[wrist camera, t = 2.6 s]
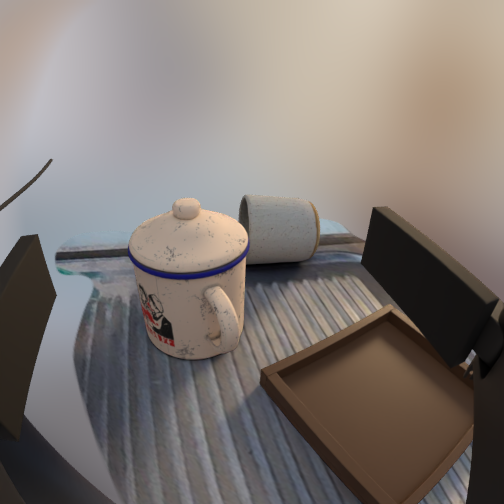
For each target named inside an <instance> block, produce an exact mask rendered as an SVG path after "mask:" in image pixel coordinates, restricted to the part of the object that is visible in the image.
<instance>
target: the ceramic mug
mask: <svg viewBox="0 0 504 504" xmlns="http://www.w3.org/2000/svg"><path fill="white" fill-rule="evenodd" d="M239 223H240V224H241V225H242V226H243V227H244V229H245V230H246V232H247V235H248V238H249V242H250V247H249V251H248V253H247V255H246V264H264V263H278V262H298V261H303V260H307V259H309V258H311V257H312V256H313V255H314V253H315V252H316V250H317V247H318V244H319V239H320V221H319V216H318V213H317V210H316V208H315V207H314V205H313V204H312V203H311V202H309V201H307V200H302V199H299V198H285V197H272V196H259V195H244V196H243V198H242V200H241V204H240V209H239Z"/></svg>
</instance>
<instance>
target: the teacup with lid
mask: <svg viewBox="0 0 504 504" xmlns="http://www.w3.org/2000/svg"><path fill="white" fill-rule="evenodd" d="M249 247H250V242H249V238H248V235H247V232H246V230H245V229H244V227H243V226H242V225H241V224H240V223H239V222H238V221H236V220H235V219H233V218H231V217H229V216H227V215H225V214H222V213H218V212H213V211H207V210H204V209H201V207H200V203H199V202H198V201H197V200H196V199H193V198H182V199H179V200H177V201H175V202H174V204H173V206H172V210H171V211H169V212H167V213H164V214H161V215H158V216H155V217H153V218H151V219H149V220H147V221H145V222H143V223H142V224H141V225H140V226H138V227H137V228H136V230H135V231H134V232H133V234H132V236H131V238H130V241H129V245H128V254H129V258H130V260H131V261H132V262H133V265H134V271H135V276H136V281H137V287H138V292H139V297H140V302H141V306H142V311H143V316H144V320H145V325H146V329H147V333H148V336H149V338H150V340H151V341H152V342H153V344H154V345H155V346H156V347H157V348H158V349H160V350H161V351H163V352H164V353H166V354H168V355H171V356H174V357H177V358H182V359H193V360H195V359H205V358H209V357H212V356H215V355H218V354H220V353H227V352H230V351H232V350H234V349H235V348H236V347H237V345H238V342H239V337H240V335H241V332H242V329H243V319H244V292H245V267H246V255H247V253H248V251H249Z"/></svg>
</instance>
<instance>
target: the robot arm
mask: <svg viewBox="0 0 504 504" xmlns="http://www.w3.org/2000/svg"><path fill="white" fill-rule="evenodd" d="M51 162H52V159H50V160H49V161H48V163H47V164H46V165H45V166H44V167H43V168H42V170H41V171H40V172H39V173H38V174H37V175H36V176H35V177H34V178H33V179H32V180H31V181H30V182H29V183H27V184H26V185H25V186H24V187H23V188H21V189H20V190H19V191H18V192H16V193H15V194H14V195H13V196H12V197H10V198H9V199H8V200H7V201H5V202H4V203H3V204H2V205H1V206H0V211H1V210H2V209H3V208H4V207H6V206H7V205H8V204H9V203H11V202H12V201H13V200H14V199H16V198H17V197H18V196H19V195H20V194H21V193H23V192H24V191H25V190H26V189H27V188H28V187H29V186H30V185H32V183H34V182H35V181H36V180H37V178H39V177H40V175H41V174H42V173H43V172H44V171H45V170H46V168H47V167H48V166H49V164H50V163H51ZM361 264H362V265H363V266H364V267H365V269H366V270H367V271H368V272H369V273H370V274H371V275H372V276H373V277H374V278H375V280H376V281H377V282H378V283H379V284H380V285H381V286H382V287H383V289H384V290H385V291H386V292H387V293H388V294H389V295H390V296H391V298H392V299H393V300H394V301H395V302H396V303H397V305H398V306H399V307H400V308H401V309H402V310H403V311H404V313H405V314H406V315H407V316H408V317H409V319H410V320H411V321H412V322H413V323H414V324H415V326H416V327H417V328H418V329H419V330H420V332H421V333H422V334H423V335H424V336H425V338H426V339H427V340H428V341H429V343H430V344H431V345H432V346H433V347H434V349H435V350H436V351H437V352H438V354H439V355H440V356H441V357H442V359H443V360H444V361H445V362H446V364H447V365H448V366H449V368H450V369H451V368H453V367H455V366H457V365H459V364H461V363H463V362H465V360H466V358H467V357H468V355H469V354H470V352H471V350H472V349H473V350H474V351H475V353H476V356H475V357H474V359H473V360H472V362H471V364H470V365H469V367H468V368H467V370H466V371H465V373H464V375H463V378H466V377H467V376H468V374H469V373H470V371H473V373H472V375H471V376H470V378H469V379H470V380H473V384H474V426H473V446H472V459H471V470H470V479H469V487H468V494H467V500H466V504H504V303H503V302H502V301H501V300H500V299H499V298H498V297H497V296H496V295H495V294H494V293H493V292H492V291H491V290H489V289H488V288H487V287H486V286H485V285H484V284H483V283H482V282H481V281H480V280H478V279H477V278H476V277H475V276H474V275H473V274H472V273H470V272H469V271H468V270H467V269H466V268H465V267H463V266H462V265H461V264H460V263H459V262H458V261H456V260H455V259H454V258H453V257H451V256H450V255H449V254H448V253H447V252H446V251H444V250H443V249H442V248H441V247H439V246H438V245H437V244H436V243H434V242H433V241H432V240H431V239H429V238H428V237H427V236H426V235H424V234H423V233H422V232H420V231H419V230H418V229H416V228H415V227H414V226H413V225H411V224H410V223H409V222H407V221H406V220H405V219H403V218H402V217H401V216H399V215H398V214H396V213H395V212H394V211H392V210H391V209H390V208H388V207H373V210H372V215H371V219H370V225H369V229H368V234H367V239H366V243H365V247H364V252H363V256H362V260H361ZM56 296H57V295H56V292H55V289H54V286H53V283H52V280H51V277H50V274H49V271H48V268H47V264H46V261H45V258H44V254H43V251H42V248H41V244H40V240H39V237H38V234H35V235H27V236H21V237H20V239H19V240H18V242H17V243H16V244H15V246H14V247H13V249H12V250H11V252H10V253H9V254H8V256H7V257H6V259H5V261H4V262H3V264H2V265H1V267H0V439H3V440H10V441H17V442H19V438H20V432H21V426H22V420H23V415H24V409H25V405H26V400H27V395H28V391H29V386H30V382H31V378H32V374H33V370H34V366H35V363H36V359H37V355H38V352H39V348H40V344H41V341H42V338H43V335H44V331H45V328H46V325H47V322H48V319H49V316H50V313H51V310H52V307H53V304H54V301H55V299H56ZM0 504H26V503H25V502H24V500H23V499H22V497H21V496H20V494H19V493H18V491H17V489H16V488H15V486H14V484H13V483H12V481H11V479H10V478H9V476H8V474H7V472H6V471H5V469H4V467H3V465H2V463H1V461H0Z"/></svg>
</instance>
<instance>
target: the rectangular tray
mask: <svg viewBox="0 0 504 504" xmlns="http://www.w3.org/2000/svg"><path fill="white" fill-rule="evenodd" d="M468 367H469V365H468V364H466V363H465V362H463V363H461V364H459V365H457V366H455V367H453V368H451V369H450V368H449V366H448V365H447V364H446V362H445V361H444V360H443V359H442V357H441V356H440V355H439V354H438V352H437V351H436V350H435V349H434V347H433V346H432V345H431V344H430V343H429V341H428V340H427V339H426V338H425V336H424V335H423V334H422V333H421V332H420V330H419V329H418V328H417V327H416V326H415V324H414V323H413V322H412V321H411V320H410V319H409V318H408V317H406V316H405V315H404V314H402V313H401V312H400V311H398V310H397V309H396V308H394V307H393V306H392V305H390V304H388V305H387V306H385V307H383V308H382V309H380V310H378V311H376V312H374V313H373V314H371V315H369V316H367V317H366V318H364V319H362V320H360V321H358V322H356V323H355V324H353V325H351V326H349V327H347V328H345V329H343V330H341V331H340V332H338V333H336V334H334V335H332V336H330V337H328V338H326V339H324V340H322V341H320V342H318V343H316V344H314V345H312V346H310V347H308V348H306V349H304V350H302V351H300V352H298V353H296V354H294V355H292V356H289V357H287V358H285V359H283V360H281V361H279V362H277V363H274V364H272V365H270V366H268V367H265V368H263V369H261V376H260V384H261V386H262V387H263V388H264V390H265V391H266V392H267V393H268V395H269V396H270V397H271V398H272V400H273V401H274V402H275V403H276V405H277V406H278V407H279V408H280V410H281V411H282V412H283V413H284V414H285V416H286V417H287V418H288V419H289V421H290V422H291V423H292V424H293V425H294V427H295V428H296V429H297V430H298V431H299V433H300V434H301V435H302V436H303V437H304V439H305V440H306V441H307V442H308V443H309V444H310V446H311V447H312V448H313V449H314V450H315V451H316V453H317V454H318V455H319V456H320V457H321V458H322V459H323V461H324V462H325V463H326V464H327V465H328V466H329V467H330V468H331V470H332V471H333V472H334V473H335V474H336V475H337V476H338V477H339V478H340V480H341V481H342V482H343V483H344V484H345V485H346V486H347V487H348V488H349V489H350V490H351V491H352V493H353V494H354V495H355V496H356V497H357V498H358V499H359V500H360V501H361V502H362V503H363V504H418V503H419V502H420V501H421V500H422V499H423V498H424V497H425V496H426V495H427V494H428V493H429V491H430V490H431V489H432V488H433V487H434V486H435V485H436V484H437V483H438V482H439V481H440V480H441V478H442V477H443V476H444V475H445V474H446V473H447V472H448V470H449V469H450V468H451V467H452V466H453V464H454V463H455V462H456V461H457V460H458V458H459V457H460V456H461V455H462V453H463V452H464V451H465V450H466V448H467V447H468V446H469V444H470V443H471V442H472V440H473V426H474V384H473V380H470V379H469V378H470V376H471V375H472V373H473V371H470V373H469V374H468V376H467V377H466V378H463V375H464V373H465V371H466V370H467V368H468Z"/></svg>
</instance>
